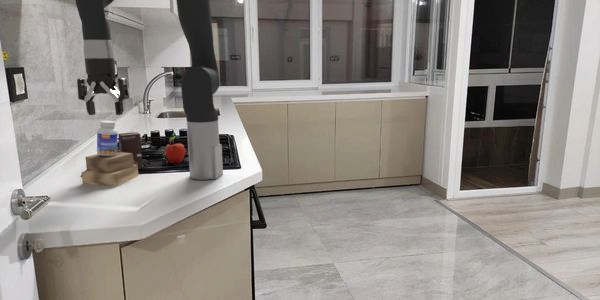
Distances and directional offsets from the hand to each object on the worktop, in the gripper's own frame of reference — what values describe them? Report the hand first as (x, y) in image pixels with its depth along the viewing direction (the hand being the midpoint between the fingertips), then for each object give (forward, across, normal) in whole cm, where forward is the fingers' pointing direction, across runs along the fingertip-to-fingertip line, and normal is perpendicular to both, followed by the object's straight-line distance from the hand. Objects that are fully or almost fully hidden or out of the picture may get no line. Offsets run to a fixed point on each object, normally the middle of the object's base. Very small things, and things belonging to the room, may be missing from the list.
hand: (105, 114), depth 120 cm
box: (+20, 0, -11) cm, 23 cm away
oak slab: (+20, 0, 0) cm, 20 cm away
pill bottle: (+12, +1, 0) cm, 12 cm away
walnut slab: (+16, 0, 0) cm, 16 cm away
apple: (+20, -10, -22) cm, 31 cm away
